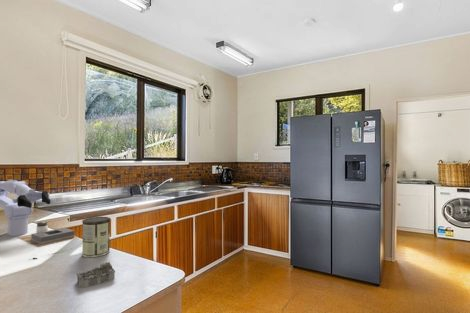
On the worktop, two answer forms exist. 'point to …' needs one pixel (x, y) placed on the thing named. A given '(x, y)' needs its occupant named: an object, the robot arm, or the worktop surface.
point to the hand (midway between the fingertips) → (40, 203)
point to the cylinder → (42, 227)
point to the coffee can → (96, 236)
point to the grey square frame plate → (52, 235)
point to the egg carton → (96, 275)
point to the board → (28, 239)
